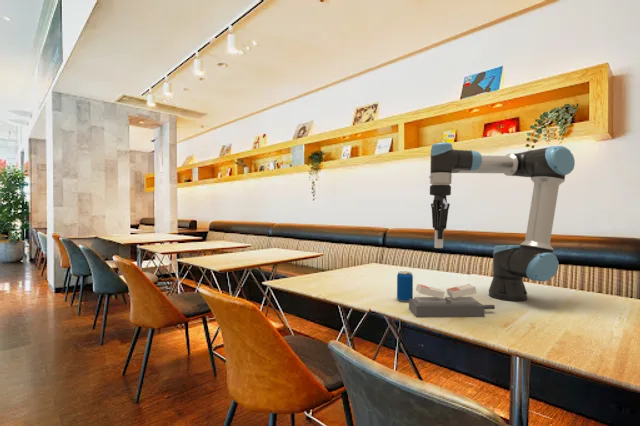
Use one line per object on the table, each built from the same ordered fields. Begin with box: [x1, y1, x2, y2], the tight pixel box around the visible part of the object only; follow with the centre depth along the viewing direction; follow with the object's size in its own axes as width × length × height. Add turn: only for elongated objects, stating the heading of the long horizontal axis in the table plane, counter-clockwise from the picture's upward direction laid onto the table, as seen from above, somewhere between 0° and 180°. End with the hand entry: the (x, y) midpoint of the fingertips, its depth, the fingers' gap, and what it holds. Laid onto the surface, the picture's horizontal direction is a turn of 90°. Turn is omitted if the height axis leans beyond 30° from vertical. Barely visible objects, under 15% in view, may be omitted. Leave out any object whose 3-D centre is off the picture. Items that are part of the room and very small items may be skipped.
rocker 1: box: [415, 283, 445, 299], centre depth 133 cm, size 9×5×2 cm, turn 91°
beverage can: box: [396, 270, 414, 303], centre depth 150 cm, size 6×6×12 cm
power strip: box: [408, 296, 496, 318], centre depth 134 cm, size 31×10×5 cm, turn 91°
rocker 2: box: [446, 283, 477, 298], centre depth 133 cm, size 9×5×2 cm, turn 91°
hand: (438, 247), depth 133 cm, fingers closed
